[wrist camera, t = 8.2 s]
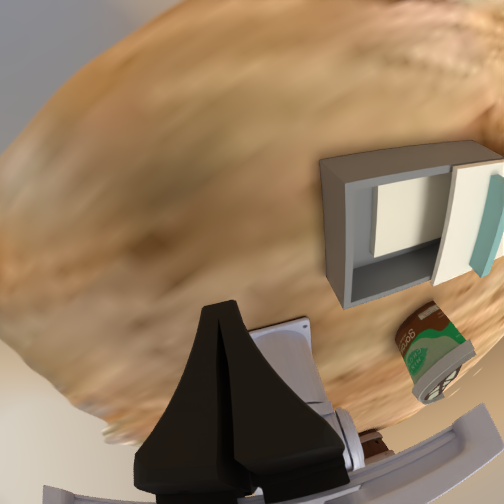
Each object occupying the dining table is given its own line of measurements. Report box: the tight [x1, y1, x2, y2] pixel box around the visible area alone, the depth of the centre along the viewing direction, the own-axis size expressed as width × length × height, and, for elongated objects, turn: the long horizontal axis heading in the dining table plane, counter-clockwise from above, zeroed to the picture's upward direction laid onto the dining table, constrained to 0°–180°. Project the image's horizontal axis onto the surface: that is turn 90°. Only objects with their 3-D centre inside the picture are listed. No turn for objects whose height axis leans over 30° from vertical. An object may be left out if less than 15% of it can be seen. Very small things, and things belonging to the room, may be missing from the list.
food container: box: [395, 301, 476, 405], centre depth 31 cm, size 12×6×10 cm, turn 10°
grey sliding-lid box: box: [319, 140, 504, 310], centre depth 21 cm, size 11×16×4 cm
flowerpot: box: [358, 430, 395, 467], centre depth 58 cm, size 14×15×20 cm
